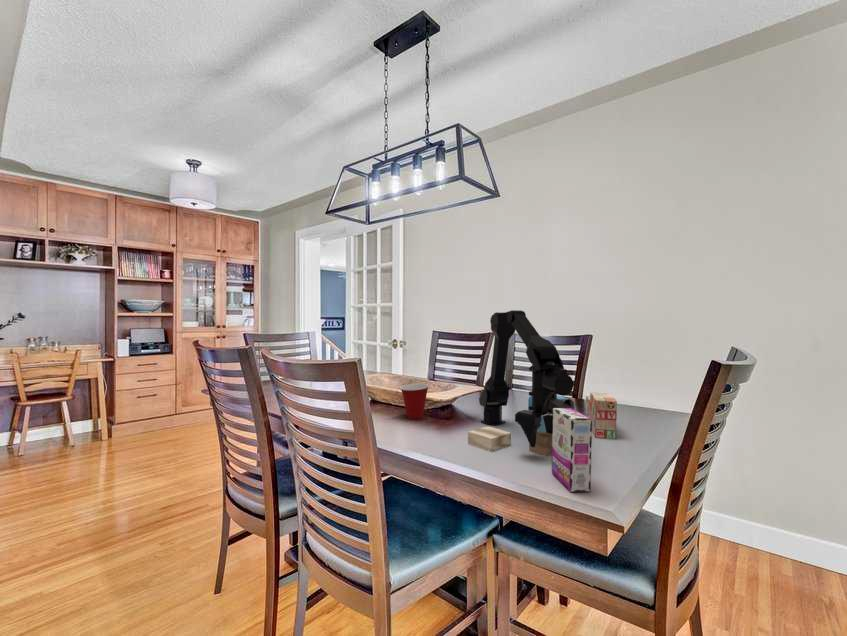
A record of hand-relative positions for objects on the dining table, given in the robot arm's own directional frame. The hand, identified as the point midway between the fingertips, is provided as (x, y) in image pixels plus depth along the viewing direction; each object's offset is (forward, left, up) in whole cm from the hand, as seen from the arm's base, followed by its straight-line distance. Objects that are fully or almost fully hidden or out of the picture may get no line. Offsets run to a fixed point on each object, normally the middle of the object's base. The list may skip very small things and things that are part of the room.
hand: (541, 443), depth 120 cm
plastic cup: (+2, -52, -2) cm, 52 cm away
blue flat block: (-17, -8, -3) cm, 19 cm away
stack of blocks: (-34, +1, -3) cm, 34 cm away
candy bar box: (+14, +16, -2) cm, 21 cm away
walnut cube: (0, 0, -2) cm, 2 cm away
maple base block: (+6, -14, -3) cm, 15 cm away
